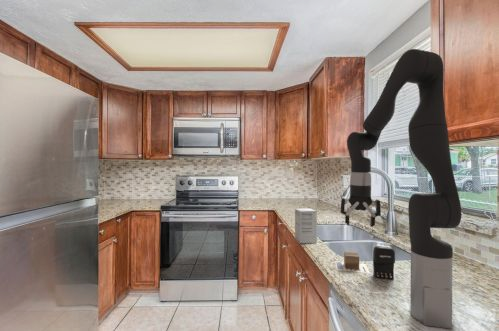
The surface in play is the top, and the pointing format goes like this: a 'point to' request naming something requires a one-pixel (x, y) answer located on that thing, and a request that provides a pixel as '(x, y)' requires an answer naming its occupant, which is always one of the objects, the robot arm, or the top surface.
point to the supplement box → (306, 225)
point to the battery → (383, 262)
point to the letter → (341, 267)
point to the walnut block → (351, 260)
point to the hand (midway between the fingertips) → (359, 225)
